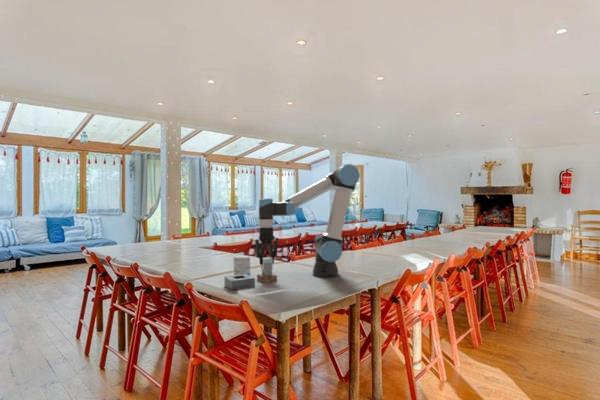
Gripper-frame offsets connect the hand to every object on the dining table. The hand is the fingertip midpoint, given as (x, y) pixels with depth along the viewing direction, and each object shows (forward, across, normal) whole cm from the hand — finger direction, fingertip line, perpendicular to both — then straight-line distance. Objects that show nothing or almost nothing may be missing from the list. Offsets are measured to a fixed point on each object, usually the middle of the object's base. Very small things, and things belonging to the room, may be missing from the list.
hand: (266, 269), depth 188 cm
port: (+7, +16, +1) cm, 17 cm away
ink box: (+7, +7, -19) cm, 21 cm away
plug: (+6, 0, 0) cm, 6 cm away
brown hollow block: (+7, 0, 0) cm, 7 cm away
